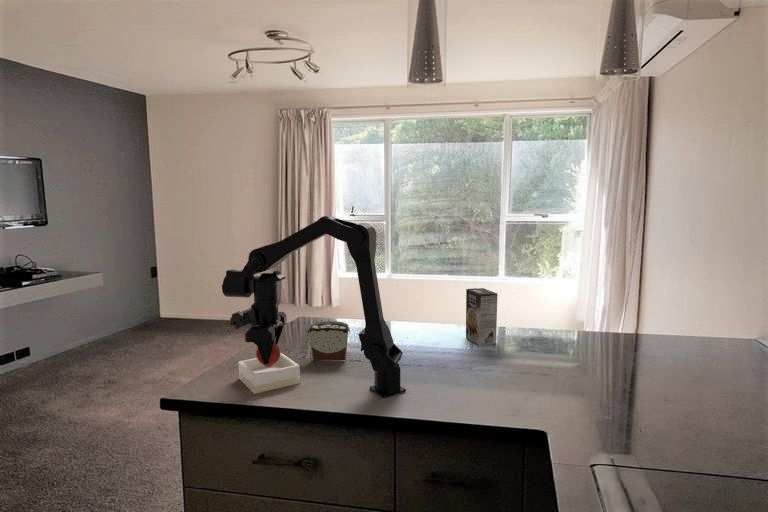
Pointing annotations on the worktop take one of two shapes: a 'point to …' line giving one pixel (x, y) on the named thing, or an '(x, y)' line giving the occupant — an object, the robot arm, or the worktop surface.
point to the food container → (328, 340)
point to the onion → (274, 356)
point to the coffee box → (481, 316)
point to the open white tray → (269, 374)
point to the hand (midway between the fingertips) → (268, 359)
